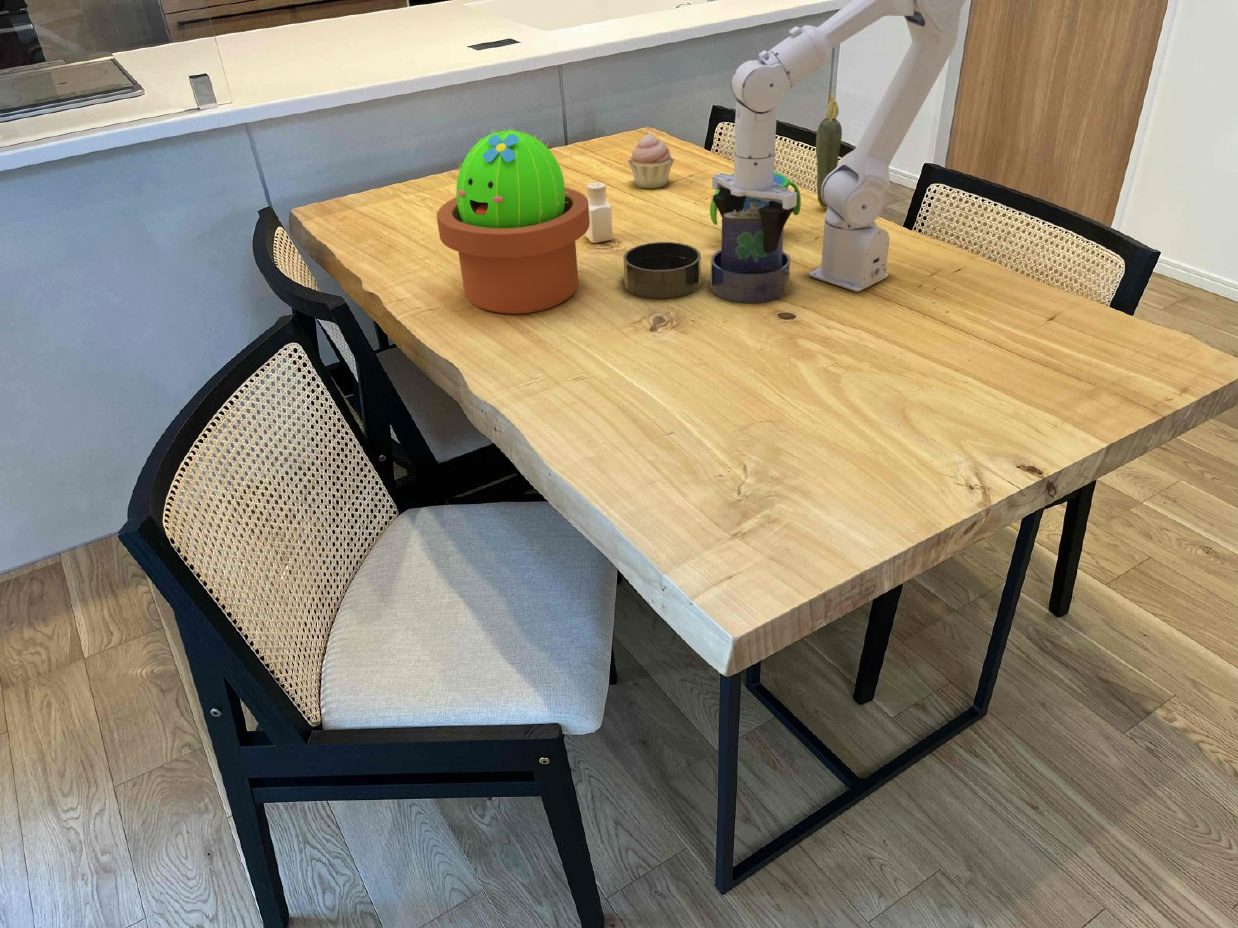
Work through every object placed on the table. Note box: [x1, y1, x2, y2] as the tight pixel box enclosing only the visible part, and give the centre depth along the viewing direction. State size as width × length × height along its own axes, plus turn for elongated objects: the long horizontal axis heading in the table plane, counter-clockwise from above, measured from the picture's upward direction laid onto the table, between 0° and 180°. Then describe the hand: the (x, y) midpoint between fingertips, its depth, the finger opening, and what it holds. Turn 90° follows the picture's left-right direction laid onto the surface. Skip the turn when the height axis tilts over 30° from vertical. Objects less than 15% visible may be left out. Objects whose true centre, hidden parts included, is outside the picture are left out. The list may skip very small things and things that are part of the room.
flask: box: [720, 202, 785, 274], centre depth 139 cm, size 9×3×11 cm, turn 88°
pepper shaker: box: [585, 181, 614, 244], centre depth 161 cm, size 4×4×10 cm
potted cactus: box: [436, 126, 590, 315], centre depth 139 cm, size 22×22×25 cm
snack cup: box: [709, 171, 802, 226], centre depth 158 cm, size 16×10×10 cm
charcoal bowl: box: [622, 241, 702, 300], centre depth 145 cm, size 12×12×4 cm
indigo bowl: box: [709, 249, 792, 304], centre depth 142 cm, size 12×12×4 cm
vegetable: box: [815, 93, 843, 210], centre depth 165 cm, size 4×4×20 cm
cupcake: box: [626, 132, 676, 190], centre depth 184 cm, size 9×9×10 cm
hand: (751, 245), depth 140 cm, fingers closed on flask, 6 cm apart
